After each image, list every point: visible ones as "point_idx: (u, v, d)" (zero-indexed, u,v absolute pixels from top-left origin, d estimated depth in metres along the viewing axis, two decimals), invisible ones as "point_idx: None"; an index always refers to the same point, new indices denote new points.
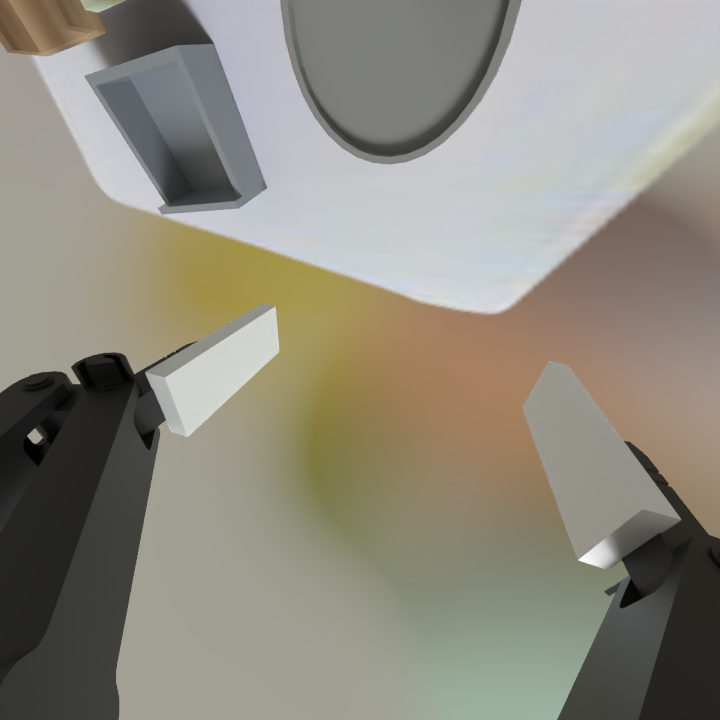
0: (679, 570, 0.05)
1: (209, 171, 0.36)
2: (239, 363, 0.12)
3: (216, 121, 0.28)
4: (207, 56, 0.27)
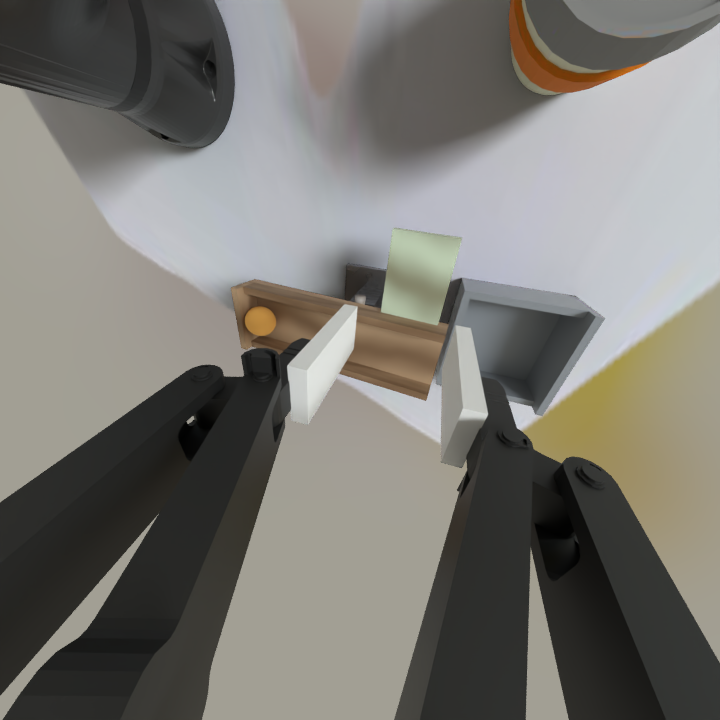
0: (482, 454, 0.07)
1: (524, 348, 0.35)
2: (336, 359, 0.13)
3: (514, 295, 0.29)
4: (469, 282, 0.32)
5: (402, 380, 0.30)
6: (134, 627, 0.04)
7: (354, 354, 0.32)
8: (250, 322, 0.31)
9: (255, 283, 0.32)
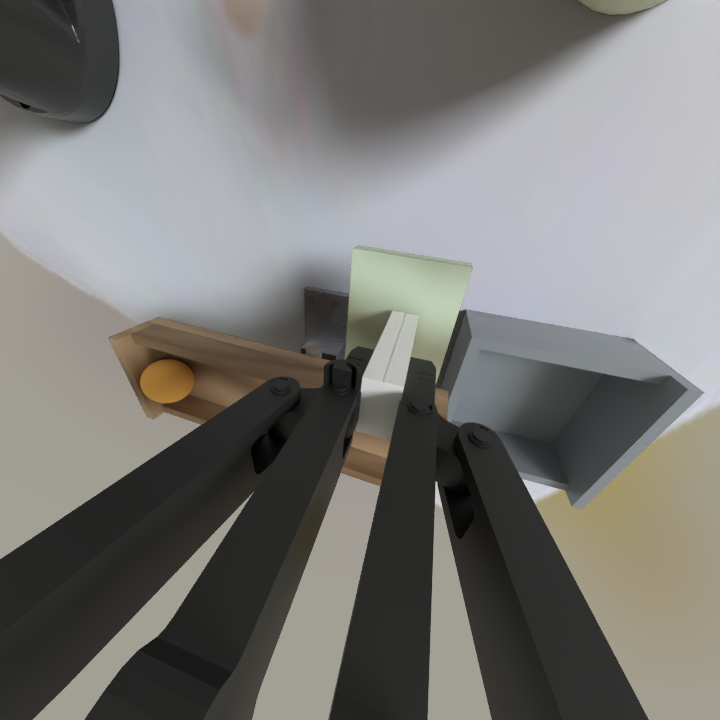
0: None
1: (552, 405, 0.25)
2: None
3: (548, 345, 0.19)
4: (477, 319, 0.22)
5: (382, 464, 0.21)
6: (203, 644, 0.04)
7: None
8: (146, 389, 0.20)
9: (155, 325, 0.21)
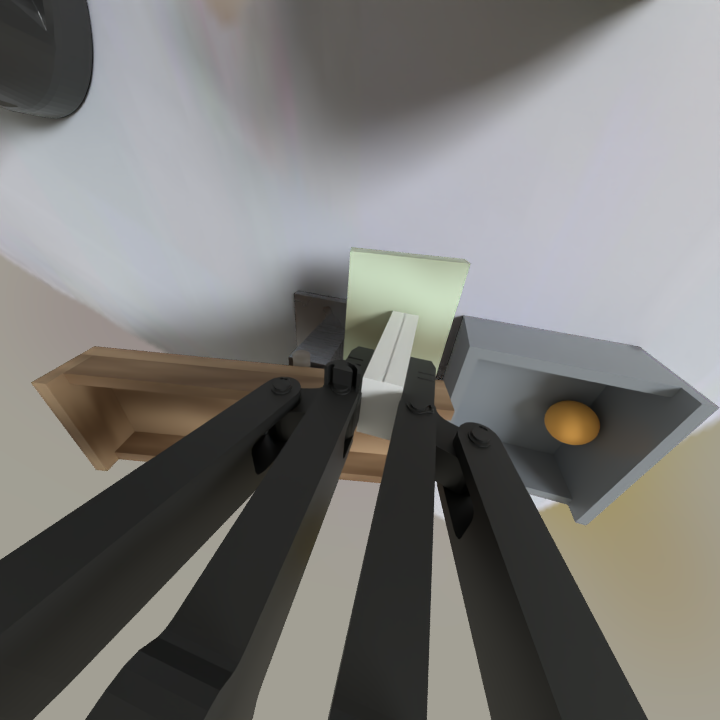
0: (394, 426, 0.08)
1: None
2: None
3: (550, 354, 0.18)
4: (476, 325, 0.21)
5: None
6: (204, 644, 0.04)
7: None
8: (581, 433, 0.20)
9: (95, 357, 0.17)
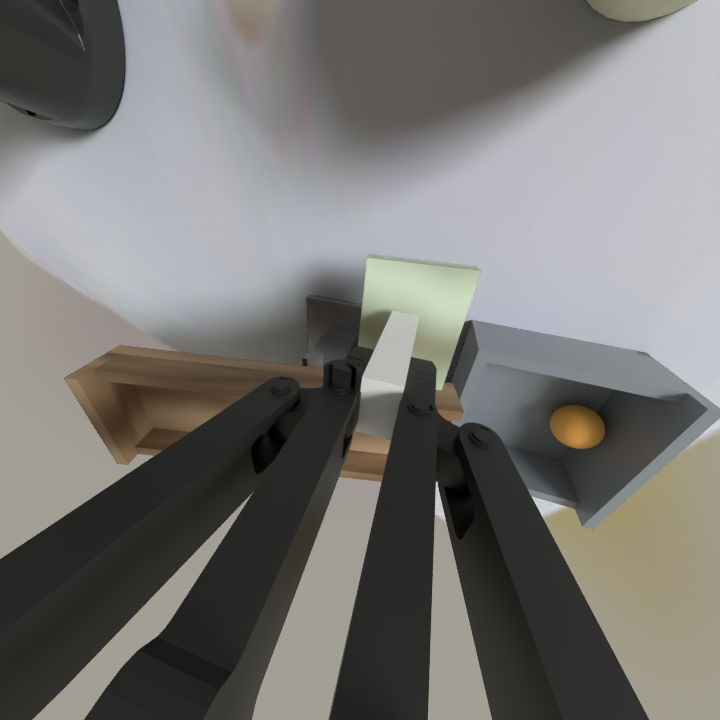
0: (395, 426, 0.08)
1: None
2: None
3: (558, 359, 0.18)
4: (484, 330, 0.21)
5: None
6: (203, 644, 0.04)
7: None
8: (585, 436, 0.21)
9: (120, 356, 0.18)
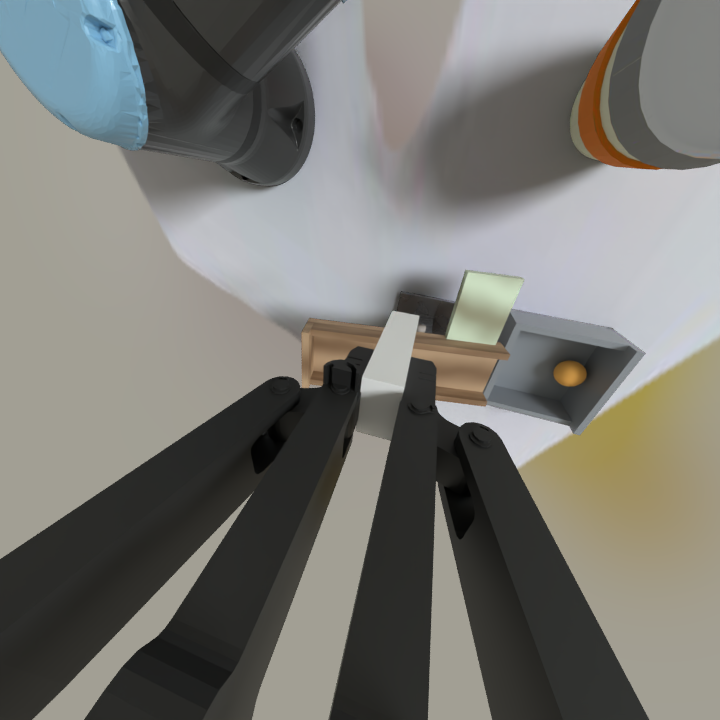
0: (395, 427, 0.08)
1: None
2: None
3: (560, 328, 0.32)
4: (516, 313, 0.35)
5: (461, 392, 0.35)
6: (203, 644, 0.04)
7: None
8: (573, 376, 0.35)
9: (316, 323, 0.32)
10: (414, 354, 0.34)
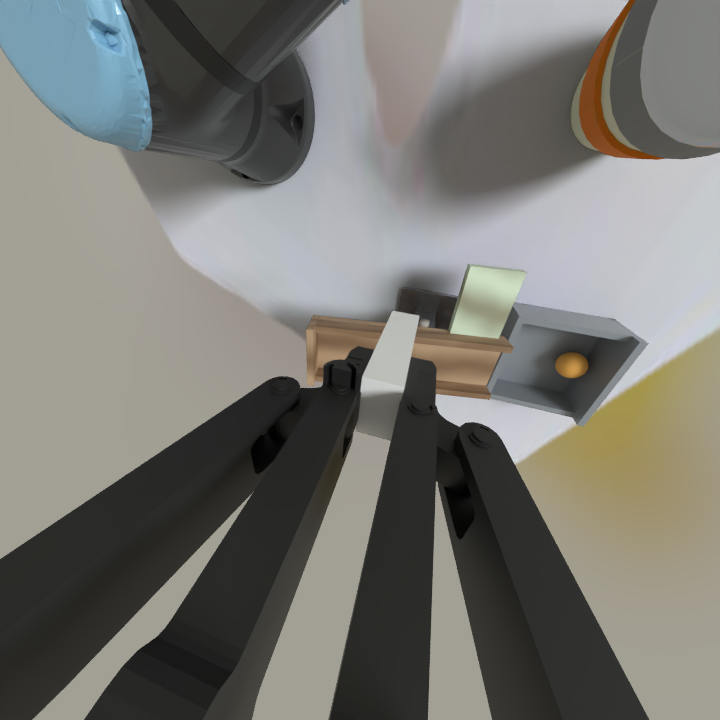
0: (395, 427, 0.08)
1: None
2: None
3: (563, 321, 0.33)
4: (519, 307, 0.35)
5: (464, 386, 0.36)
6: (203, 644, 0.04)
7: None
8: (574, 367, 0.35)
9: (320, 320, 0.32)
10: (418, 349, 0.34)
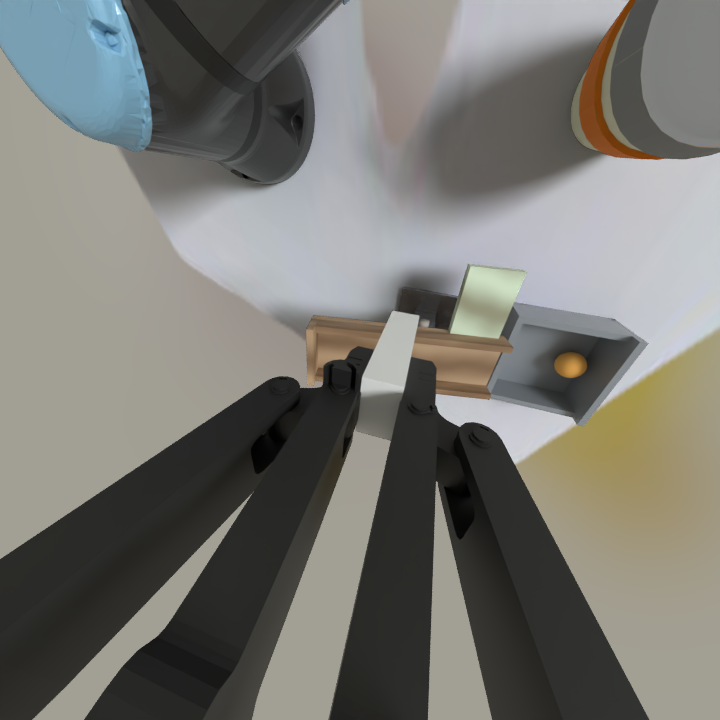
0: (395, 427, 0.08)
1: None
2: None
3: (563, 321, 0.33)
4: (519, 307, 0.35)
5: (464, 386, 0.36)
6: (203, 644, 0.04)
7: None
8: (571, 367, 0.35)
9: (320, 320, 0.32)
10: (418, 349, 0.34)
